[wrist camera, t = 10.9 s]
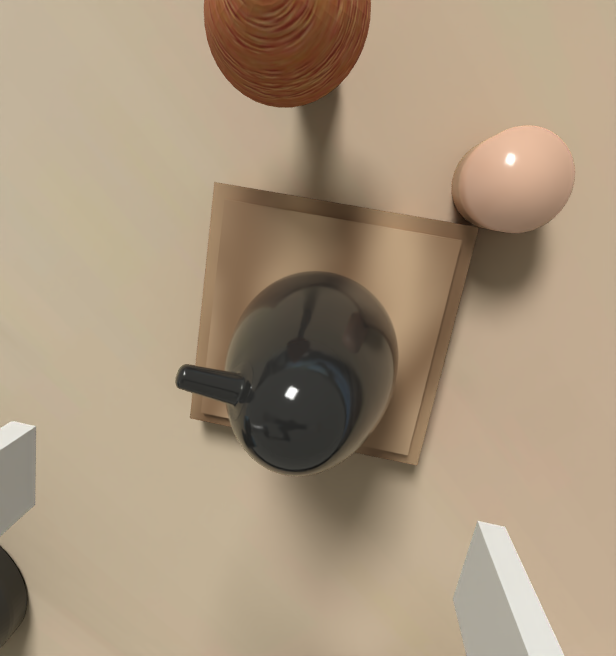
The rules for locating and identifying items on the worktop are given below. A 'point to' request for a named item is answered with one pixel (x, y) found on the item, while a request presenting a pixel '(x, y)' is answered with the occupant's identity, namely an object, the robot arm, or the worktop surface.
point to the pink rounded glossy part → (514, 180)
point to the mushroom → (286, 45)
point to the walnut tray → (350, 261)
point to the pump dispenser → (304, 372)
